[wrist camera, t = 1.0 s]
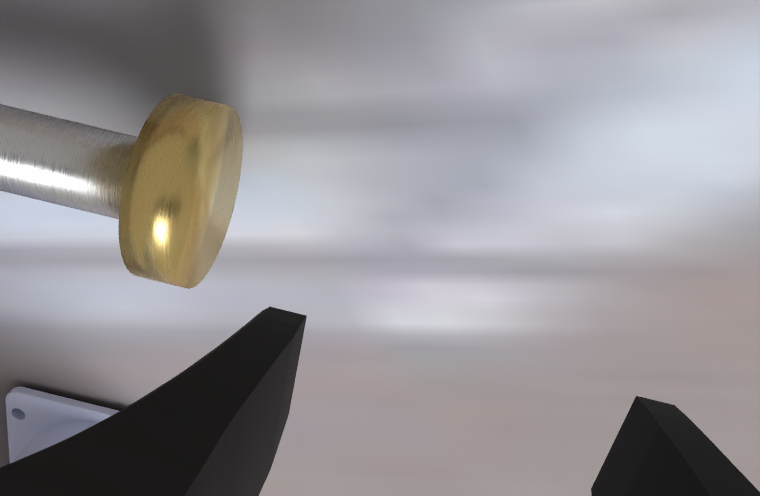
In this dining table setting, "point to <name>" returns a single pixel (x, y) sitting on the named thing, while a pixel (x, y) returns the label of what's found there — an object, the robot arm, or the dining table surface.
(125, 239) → the shaft
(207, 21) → the dining table surface
